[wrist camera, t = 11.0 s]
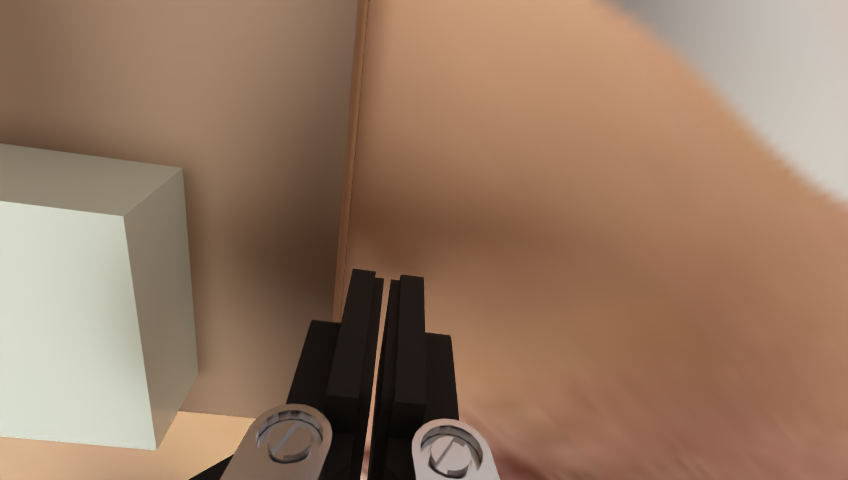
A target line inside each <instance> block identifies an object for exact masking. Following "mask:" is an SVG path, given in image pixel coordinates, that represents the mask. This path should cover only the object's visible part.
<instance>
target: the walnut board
mask: <svg viewBox="0 0 848 480" xmlns="http://www.w3.org/2000/svg"><path fill="white" fill-rule="evenodd" d="M368 3H369V0H0V143H1V144H9V145H16V146H23V147H31V148H38V149H46V150H53V151H61V152H68V153H76V154H83V155H91V156H98V157H105V158H113V159H120V160H128V161H135V162H143V163H150V164H158V165H165V166H172V167H180V168H183V180H184V193H185V206H186V219H187V232H188V245H189V258H190V271H191V283H192V296H193V309H194V322H195V335H196V348H197V361H198V376H197V378H196V379H195V381H194V383H193V385H192V387H191V388H190V390H189V392H188V394H187V396H186V398H185V399H184V401H183V403H182V405H181V407H180V409H179V410H178V411H185V412H196V413H206V414H216V415H227V416H237V417H248V418H257V417H259V416H260V415H261V414H263V413H264V412H266V411H267V410H269V409H272V408H274V407H277V406H279V405H285V404H286V401H287V398H288V394H289V391H290V388H291V385H292V381H293V378H294V375H295V371H296V368H297V365H298V362H299V358H300V355H301V352H302V348H303V345H304V342H305V339H306V335H307V332H308V329H309V326H310V323H311V321H312V320H319V321H328V322H337V323H340V315H341V304H342V293H343V281H344V270H345V259H346V248H347V237H348V226H349V214H350V203H351V192H352V181H353V170H354V159H355V148H356V136H357V125H358V114H359V103H360V92H361V81H362V70H363V58H364V47H365V36H366V25H367V14H368Z"/></svg>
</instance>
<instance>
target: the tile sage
mask: <svg viewBox="0 0 848 480" xmlns="http://www.w3.org/2000/svg"><path fill="white" fill-rule="evenodd" d="M197 376H198V361H197V348H196V335H195V322H194V309H193V296H192V283H191V271H190V258H189V245H188V232H187V219H186V206H185V193H184V180H183V168H180V167H172V166H165V165H158V164H150V163H143V162H135V161H128V160H120V159H113V158H105V157H98V156H91V155H83V154H76V153H68V152H61V151H53V150H46V149H38V148H31V147H23V146H16V145H9V144H1V143H0V436H2V437H13V438H24V439H35V440H46V441H57V442H69V443H80V444H91V445H102V446H113V447H124V448H135V449H147V450H157V449H158V447H159V445H160V443H161V441H162V439H163V438H164V436H165V434H166V432H167V430H168V429H169V427H170V425H171V423H172V421H173V419H174V418H175V416H176V414H177V412H178V410H179V409H180V407H181V405H182V403H183V401H184V399H185V398H186V396H187V394H188V392H189V390H190V388H191V387H192V385H193V383H194V381H195V379H196V378H197Z"/></svg>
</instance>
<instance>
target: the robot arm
mask: <svg viewBox="0 0 848 480" xmlns="http://www.w3.org/2000/svg"><path fill="white" fill-rule="evenodd" d="M375 274H376V271H368V270H360V269H353V271H352V275H351V280H350V285H349V289H348V294H347V299H346V303H345V308H344V313H343V317H342V322H341V323H337V322H328V321H319V320H312V321H311V323H310V326H309V329H308V332H307V335H306V339H305V342H304V345H303V348H302V352H301V355H300V358H299V362H298V365H297V368H296V371H295V375H294V378H293V381H292V385H291V388H290V391H289V394H288V398H287V401H286V404H285V405H279V406H277V407H274V408H272V409H269V410H267V411H266V412H264V413H263V414H261V415H260V416H259V417H257V418H256V420H255V421H254V422H253V423H252V425H251V426H250V427H249V429H248V431H247V433H246V434H245V436H244V438H243V440H242V442H241V443H240V445H239V447H238V449H237V450H236V452H235V454H233V455H232V456H230V457H228V458H226V459H224V460H223V461H221V462H219V463H217V464H216V465H214V466H212V467H210V468H208V469H207V470H205V471H203V472H201V473H200V474H198V475H196V476H194V477H192V478H191V479H189V480H360V475H361V468H362V461H363V454H364V447H365V440H366V433H367V426H368V419H369V411H370V404H371V396H372V387H373V378H374V368H375V359H376V350H377V340H378V331H379V321H380V312H381V303H382V293H383V284H384V279H383V278H375ZM367 480H500V478H499V475H498V472H497V469H496V466H495V463H494V460H493V456H492V453H491V450H490V448H489V446H488V444H487V442H486V440H485V439H484V437H483V436H482V435H481V434H480V433H479V432H478V431H477V430H476V429H474V428H472V427H471V426H469V425H468V424H466V423H463V422H460V421H459V413H458V403H457V393H456V382H455V372H454V361H453V351H452V341H451V337H450V335H443V334H434V333H425V310H424V278H423V277H417V276H409V275H401V276H400V280H391V284H390V291H389V298H388V305H387V312H386V319H385V326H384V333H383V339H382V346H381V353H380V360H379V367H378V375H377V385H376V395H375V405H374V416H373V426H372V436H371V447H370V457H369V467H368V478H367Z"/></svg>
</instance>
